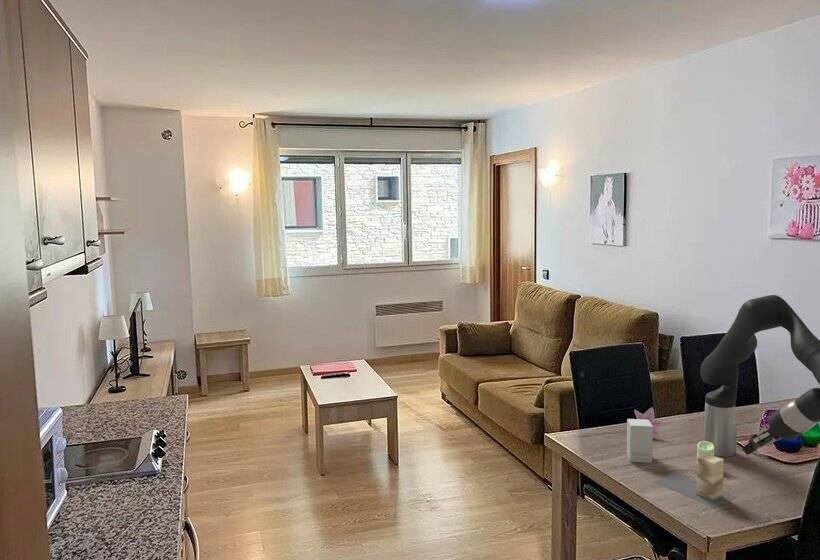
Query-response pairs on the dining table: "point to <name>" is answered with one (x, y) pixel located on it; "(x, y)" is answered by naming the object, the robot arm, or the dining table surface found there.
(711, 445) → the candle
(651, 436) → the supplement box
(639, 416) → the lily
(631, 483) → the dining table surface
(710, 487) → the block
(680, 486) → the mat
